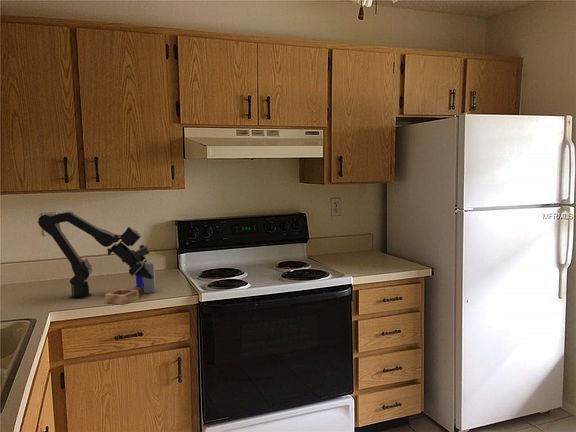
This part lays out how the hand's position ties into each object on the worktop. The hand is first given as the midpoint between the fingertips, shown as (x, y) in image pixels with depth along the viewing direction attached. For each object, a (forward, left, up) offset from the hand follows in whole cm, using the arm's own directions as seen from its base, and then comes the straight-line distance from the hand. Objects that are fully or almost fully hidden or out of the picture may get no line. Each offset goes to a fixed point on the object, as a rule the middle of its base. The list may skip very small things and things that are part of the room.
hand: (152, 276), depth 212 cm
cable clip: (-13, +10, -7) cm, 18 cm away
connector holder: (-4, -16, -7) cm, 18 cm away
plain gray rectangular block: (-1, -1, -7) cm, 7 cm away
